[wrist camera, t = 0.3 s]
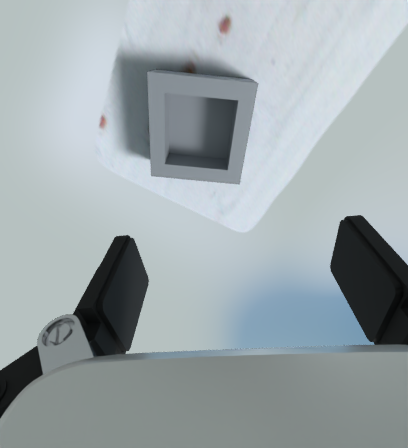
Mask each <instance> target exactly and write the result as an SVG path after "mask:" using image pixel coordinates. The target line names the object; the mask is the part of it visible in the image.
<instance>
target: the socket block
mask: <svg viewBox="0 0 408 448" xmlns="http://www.w3.org/2000/svg"><path fill="white" fill-rule="evenodd" d="M147 82H148V108H149V134H150V160H151V176H156V177H166V178H177V179H188V180H198V181H209V182H220V183H230V184H240V178H241V173H242V168H243V162H244V157H245V152H246V146H247V141H248V136H249V130H250V125H251V119H252V114H253V109H254V103H255V98H256V93H257V87H258V83H257V82H255V81H254V80H252V79H243V78H233V77H224V76H214V75H204V74H195V73H185V72H176V71H166V70H157V69H156V70H152V71H148V72H147Z"/></svg>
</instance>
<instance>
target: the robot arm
mask: <svg viewBox="0 0 408 448" xmlns="http://www.w3.org/2000/svg"><path fill="white" fill-rule="evenodd" d="M330 268H331V272H332V274H333V276H334V278H335V280H336V281H337V283H338V285H339V287H340V289H341V291H342V293H343V294H344V296H345V298H346V300H347V301H348V304H349V305H350V307H351V309H352V311H353V313H354V315H355V316H356V318H357V320H358V322H359V324H360V326H361V327H362V329H363V331H364V333H365V335H366V337H367V339H368V340H369V341H370V342H374V344H375V345H346V346H345V345H343V346H313V347H312V346H311V347H281V348H254V349H253V348H252V349H225V350H202V351H201V350H200V351H177V352H152V353H135V354H125V353H126V351H129V349H130V347H131V343H132V340H133V337H134V333H135V329H136V326H137V323H138V319H139V315H140V312H141V308H142V305H143V301H144V298H145V294H146V291H147V287H148V282H149V280H148V276H147V273H146V270H145V268H144V265H143V262H142V259H141V257H140V254H139V251H138V249H137V246H136V243H135V241H134V239H133V238H130V236H128V235H126V236H116V237H115V238H114V240H113V242H112V244H111V246H110V248H109V249H108V251H107V253H106V255H105V257H104V259H103V261H102V263H101V264H100V266H99V267H98V269H97V270H96V272H95V274H94V276H93V278H92V280H91V281H90V283H89V285H88V287H87V289H86V291H85V293H84V294H83V296H82V298H81V300H80V302H79V304H78V306H77V308H76V310H75V312H74V313H73V315H72V314H66V315H62V316H60V317H57V318H55V319H54V320H52V321H51V322H49V323H48V324H47V325H46V326H45V327H44V328H43V330H42V331H41V333H40V334H39V337H38V339H37V340H38V341H37V346H36V347H34V348H33V349H32V350H30V351H29V352H27V353H26V354H24V355H23V356H21V357H20V358H19V359H17V360H15V361H14V362H12V363H11V364H9V365H8V366H6V367H5V368H3V369H2V370H0V448H408V265H407V264H406V263H405V262H404V261H403V260H402V258H401V257H400V256H399V255H398V254H397V253H396V252H395V251H394V250H393V249H392V248H391V246H390V245H388V243H387V242H386V241H385V240H384V239H383V238H382V237H381V236H380V235H379V233H378V232H377V231H376V230H375V229H374V228H373V227H372V226H371V225H370V224H369V223H368V221H367V220H366V219H365V218H364V217H363V216H361V215H358V216H347V217H345V219H344V220H341V222H340V225H339V229H338V234H337V238H336V243H335V247H334V251H333V256H332V260H331V265H330Z"/></svg>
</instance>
